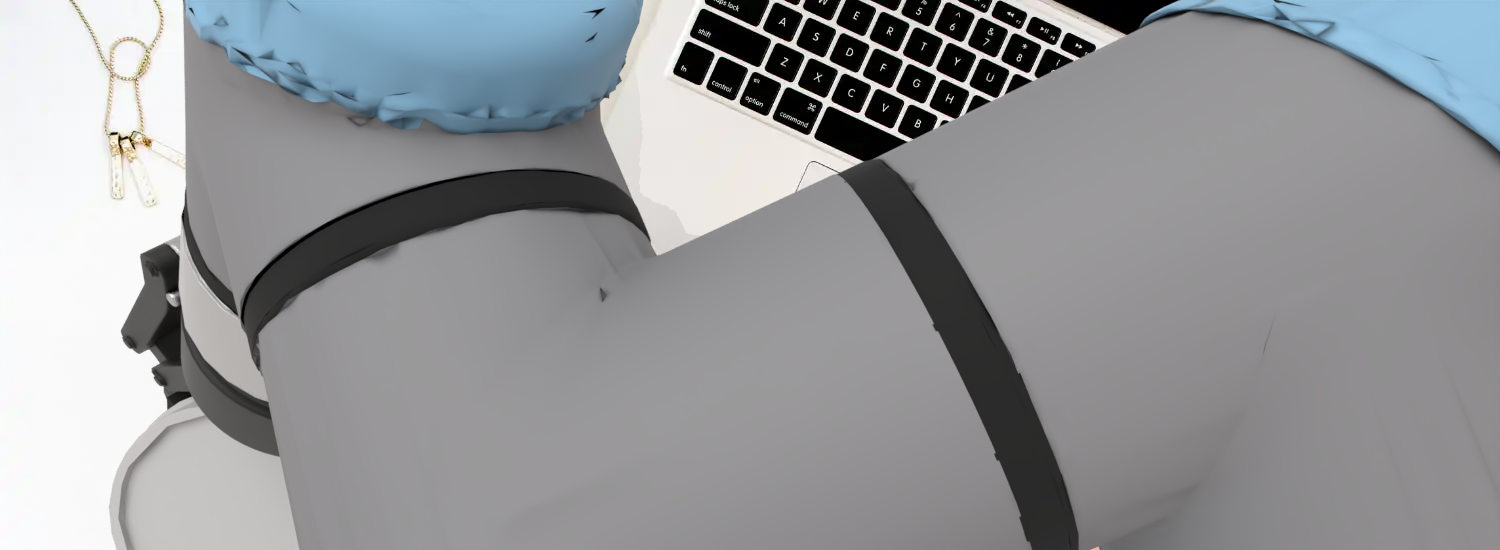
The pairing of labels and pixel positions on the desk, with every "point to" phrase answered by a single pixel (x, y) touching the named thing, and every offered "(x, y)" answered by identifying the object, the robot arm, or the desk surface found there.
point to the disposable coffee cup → (198, 490)
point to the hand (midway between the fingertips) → (272, 511)
